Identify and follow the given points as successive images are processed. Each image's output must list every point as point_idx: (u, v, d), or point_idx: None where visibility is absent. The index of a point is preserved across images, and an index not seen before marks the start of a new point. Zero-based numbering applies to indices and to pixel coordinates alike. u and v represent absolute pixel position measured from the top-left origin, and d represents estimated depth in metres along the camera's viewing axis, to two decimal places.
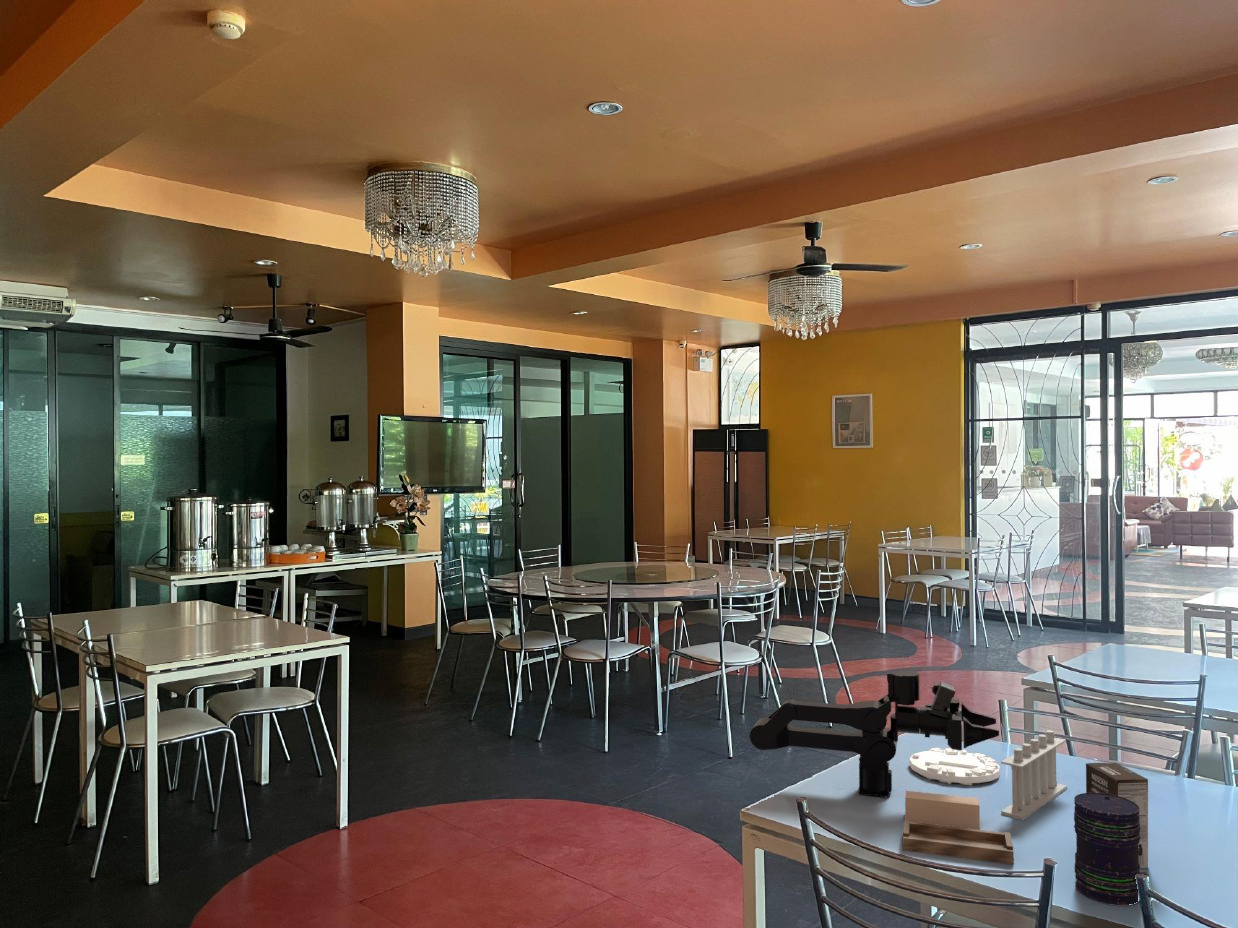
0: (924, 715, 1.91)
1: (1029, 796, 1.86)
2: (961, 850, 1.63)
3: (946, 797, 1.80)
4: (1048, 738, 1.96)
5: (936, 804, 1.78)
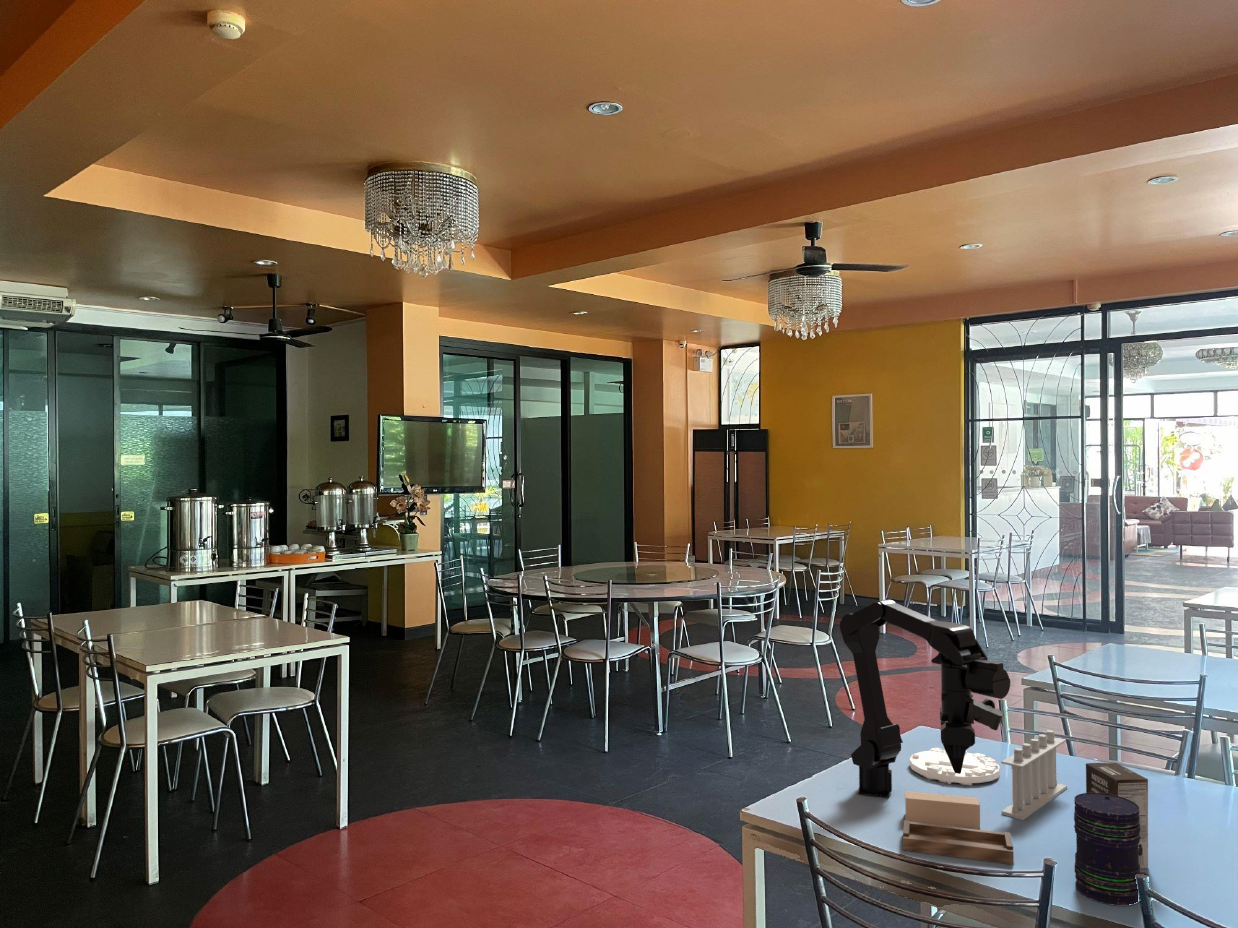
0: (966, 696, 1.76)
1: (1030, 795, 1.87)
2: (961, 850, 1.63)
3: (946, 796, 1.80)
4: (1048, 738, 1.96)
5: (936, 804, 1.78)
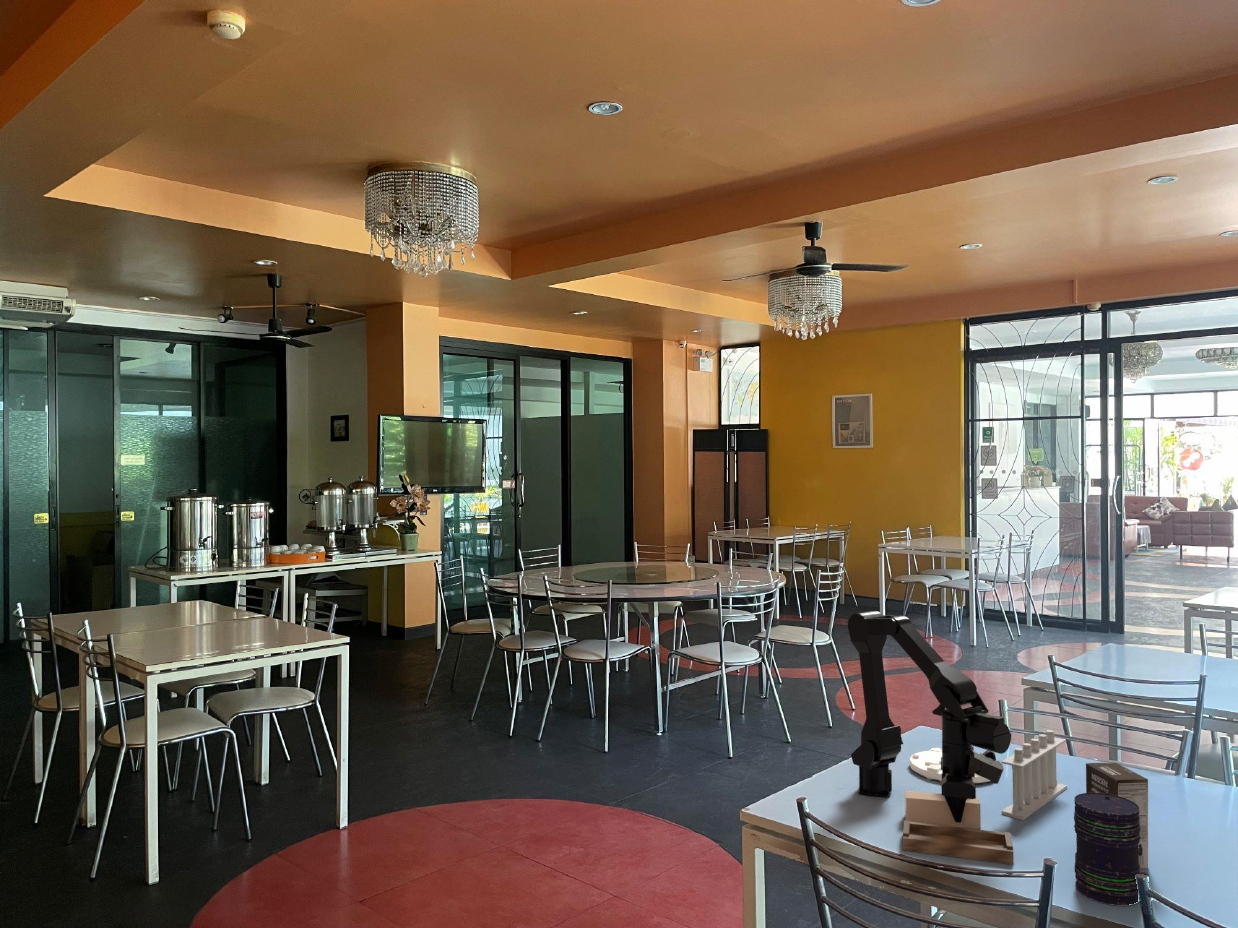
0: (966, 749, 1.76)
1: (1030, 795, 1.87)
2: (961, 850, 1.63)
3: None
4: (1048, 738, 1.96)
5: (937, 804, 1.78)
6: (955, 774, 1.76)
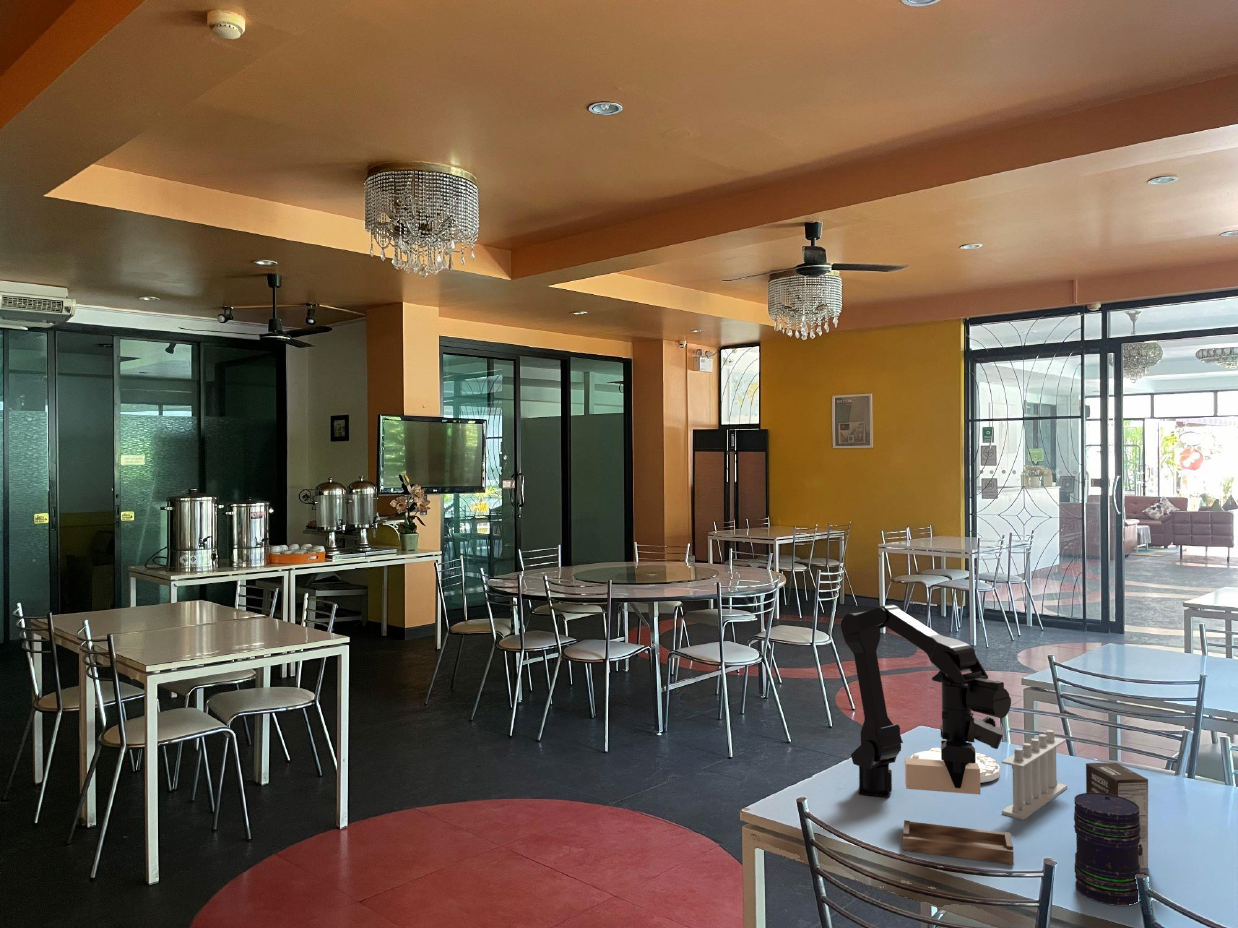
0: (966, 714, 1.76)
1: (1030, 795, 1.87)
2: (961, 850, 1.63)
3: None
4: (1048, 738, 1.96)
5: (937, 769, 1.78)
6: (955, 740, 1.76)
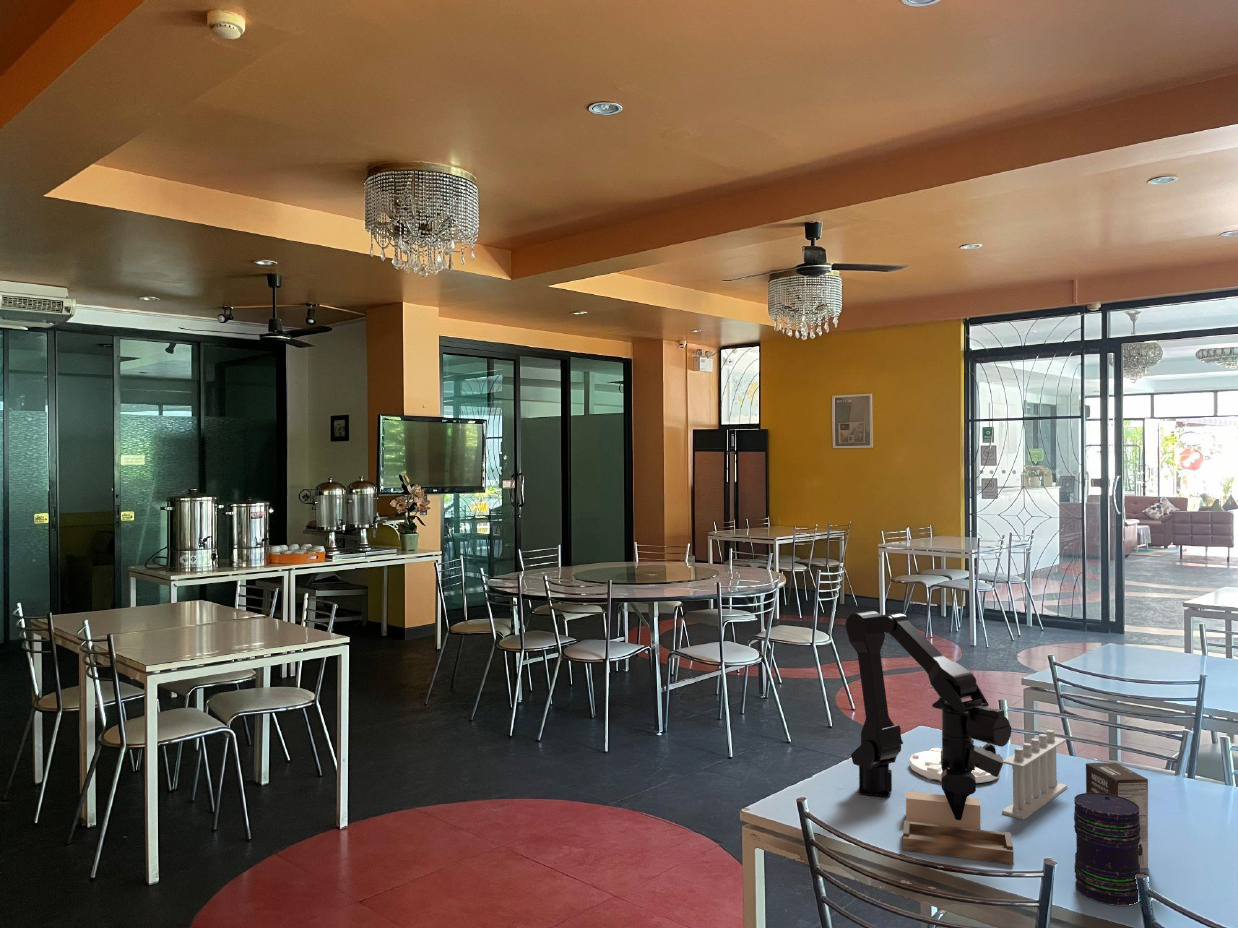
0: (966, 742, 1.76)
1: (1030, 795, 1.87)
2: (961, 850, 1.63)
3: None
4: (1048, 738, 1.96)
5: (937, 804, 1.78)
6: (955, 767, 1.76)
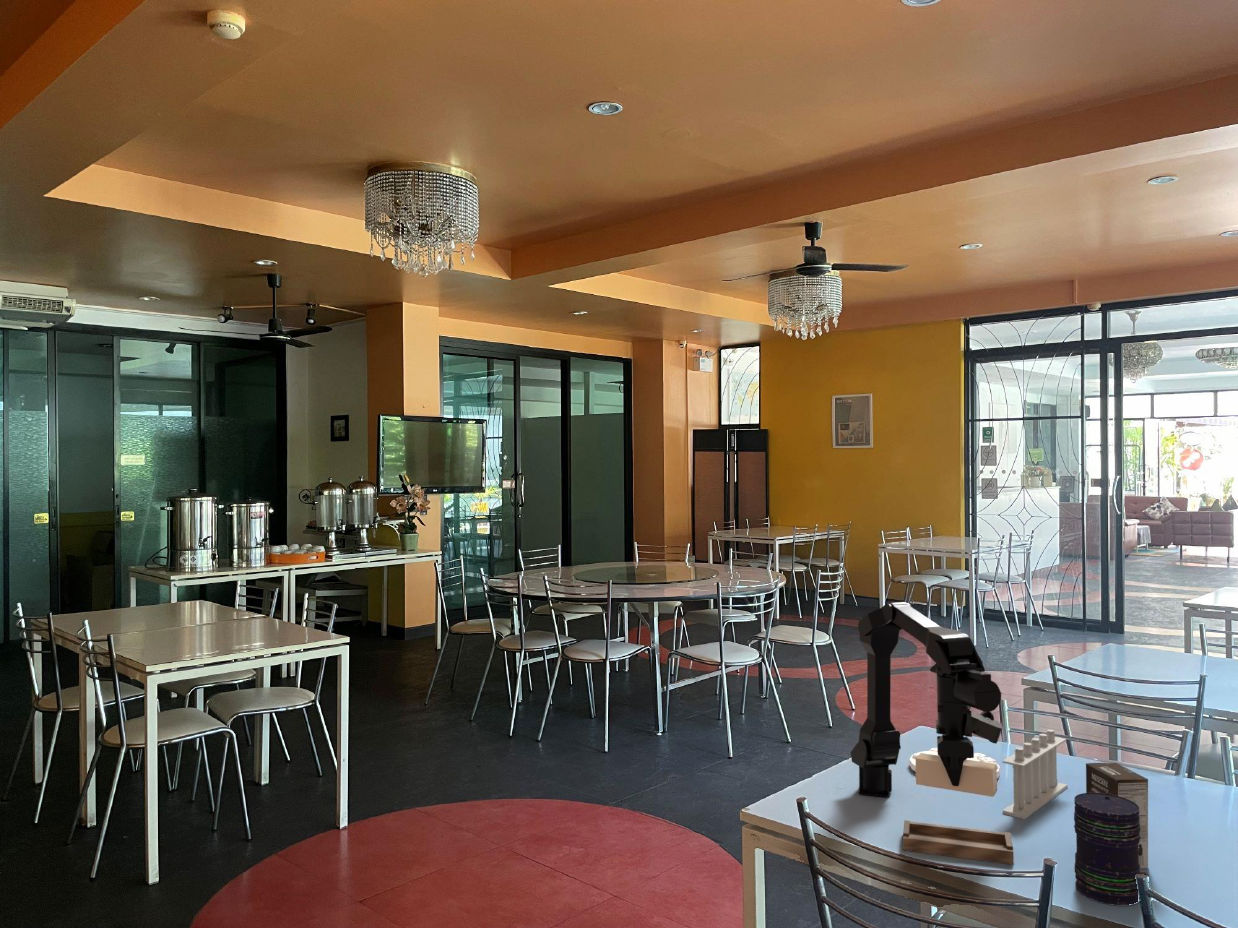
0: (963, 707, 1.67)
1: (1030, 795, 1.87)
2: (961, 850, 1.63)
3: None
4: (1049, 737, 1.97)
5: None
6: (951, 734, 1.67)
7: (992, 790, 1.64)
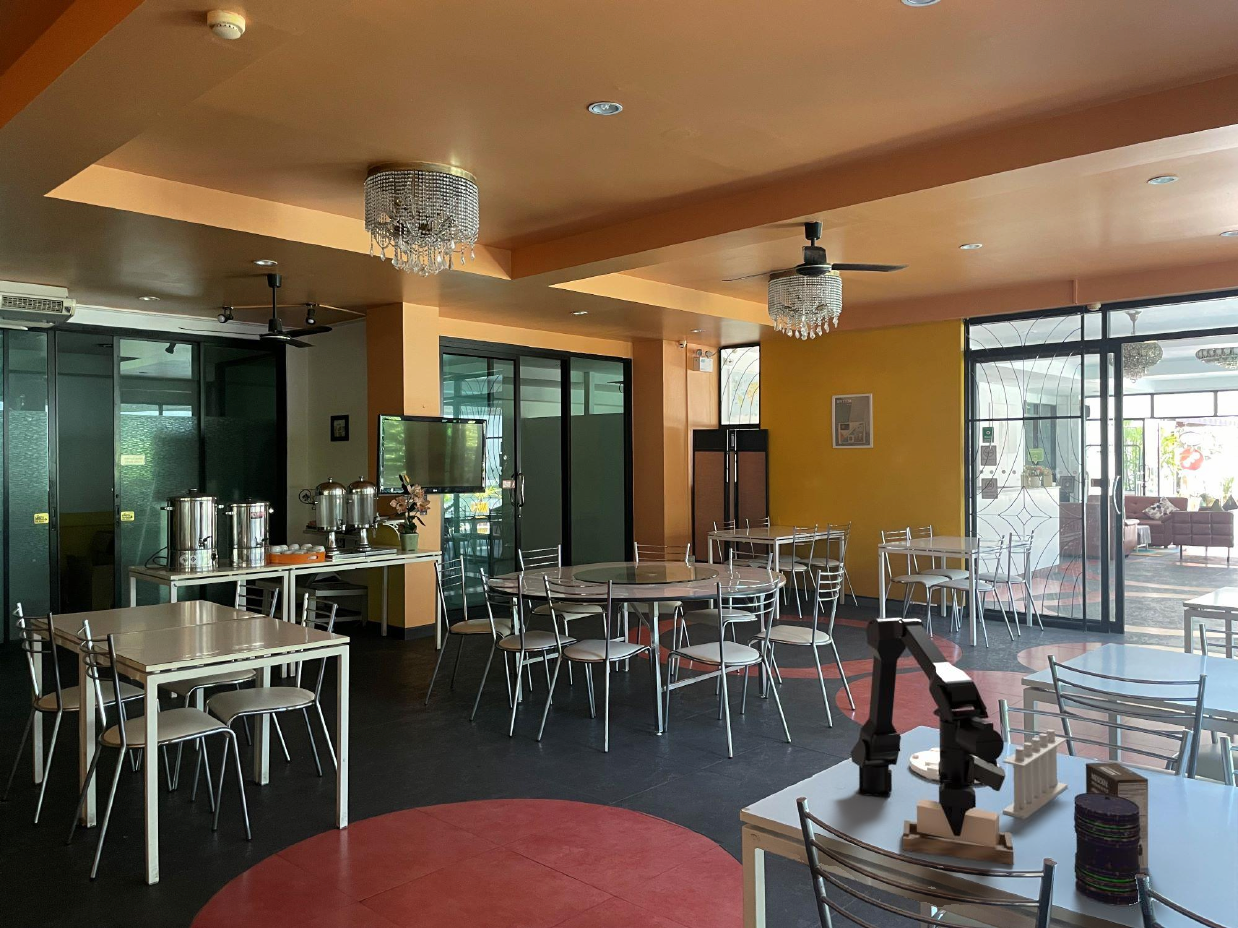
0: (966, 754, 1.64)
1: (1031, 794, 1.87)
2: (961, 850, 1.63)
3: None
4: (1049, 737, 1.97)
5: None
6: (954, 781, 1.65)
7: (994, 841, 1.62)
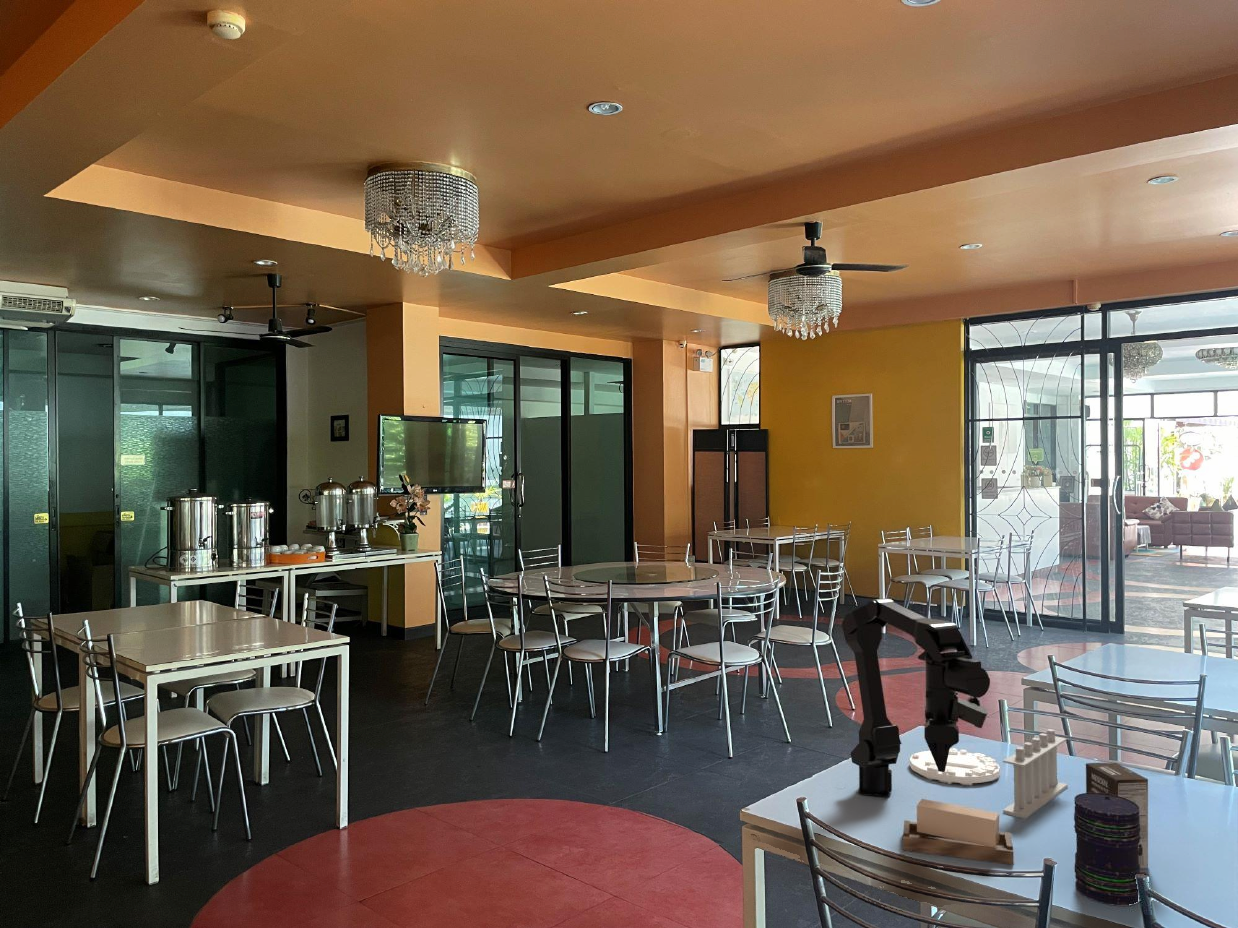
0: (950, 693, 1.74)
1: (1031, 794, 1.87)
2: (961, 850, 1.63)
3: (963, 808, 1.67)
4: (1049, 737, 1.97)
5: (949, 815, 1.66)
6: (938, 719, 1.74)
7: (994, 841, 1.62)
